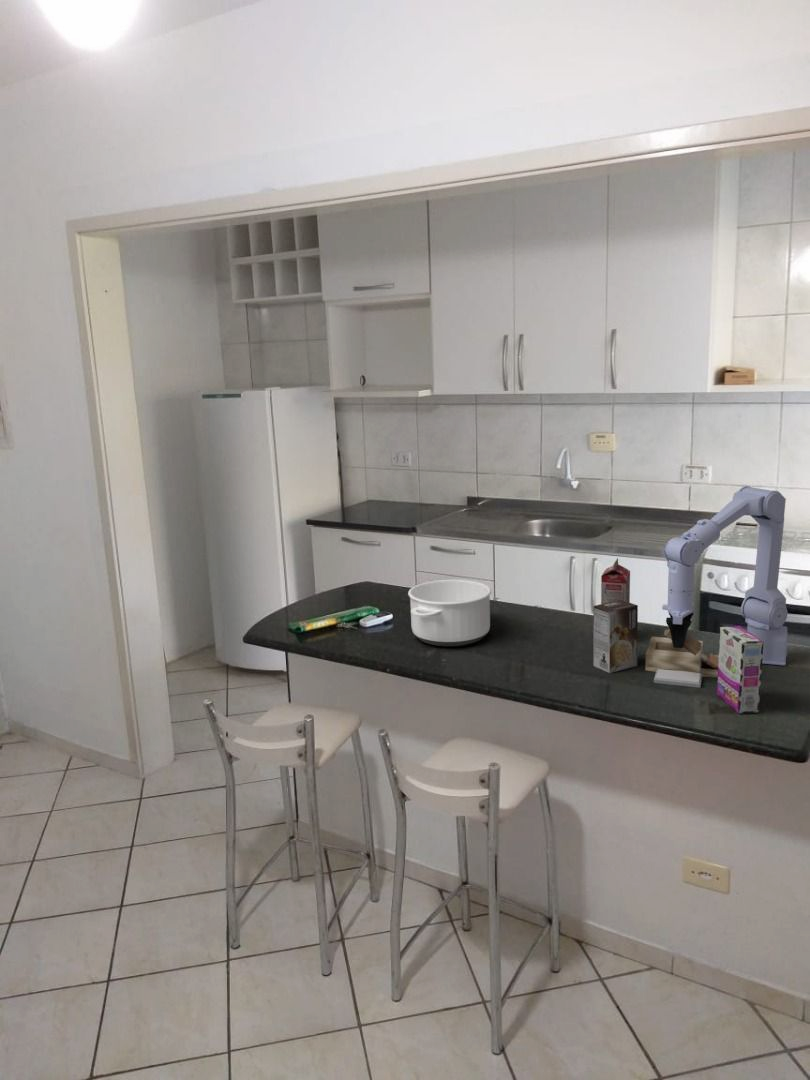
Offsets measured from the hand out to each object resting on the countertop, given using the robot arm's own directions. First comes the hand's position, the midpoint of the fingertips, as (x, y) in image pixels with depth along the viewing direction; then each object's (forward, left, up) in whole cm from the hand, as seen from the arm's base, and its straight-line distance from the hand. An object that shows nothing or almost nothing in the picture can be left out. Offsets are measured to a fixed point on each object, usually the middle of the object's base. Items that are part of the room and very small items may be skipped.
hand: (679, 644), depth 200 cm
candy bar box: (-14, +10, -9) cm, 19 cm away
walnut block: (-1, 0, 0) cm, 1 cm away
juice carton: (+18, -25, -9) cm, 32 cm away
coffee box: (+15, -5, -9) cm, 19 cm away
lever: (-2, -11, -5) cm, 12 cm away
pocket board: (-1, -11, -9) cm, 14 cm away
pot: (+62, -15, -9) cm, 65 cm away
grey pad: (0, 0, -9) cm, 9 cm away
